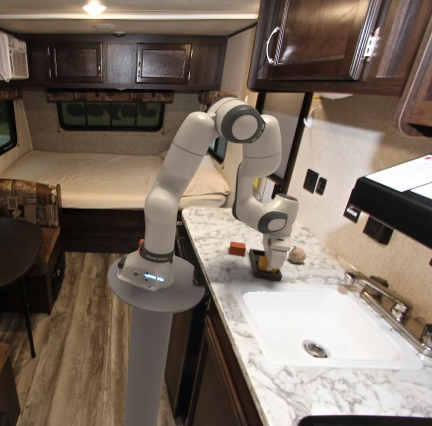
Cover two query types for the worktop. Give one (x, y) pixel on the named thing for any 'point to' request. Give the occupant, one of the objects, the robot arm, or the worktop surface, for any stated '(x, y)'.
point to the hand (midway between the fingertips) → (267, 265)
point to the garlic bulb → (297, 254)
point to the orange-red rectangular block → (237, 248)
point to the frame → (254, 260)
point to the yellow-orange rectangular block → (264, 265)
